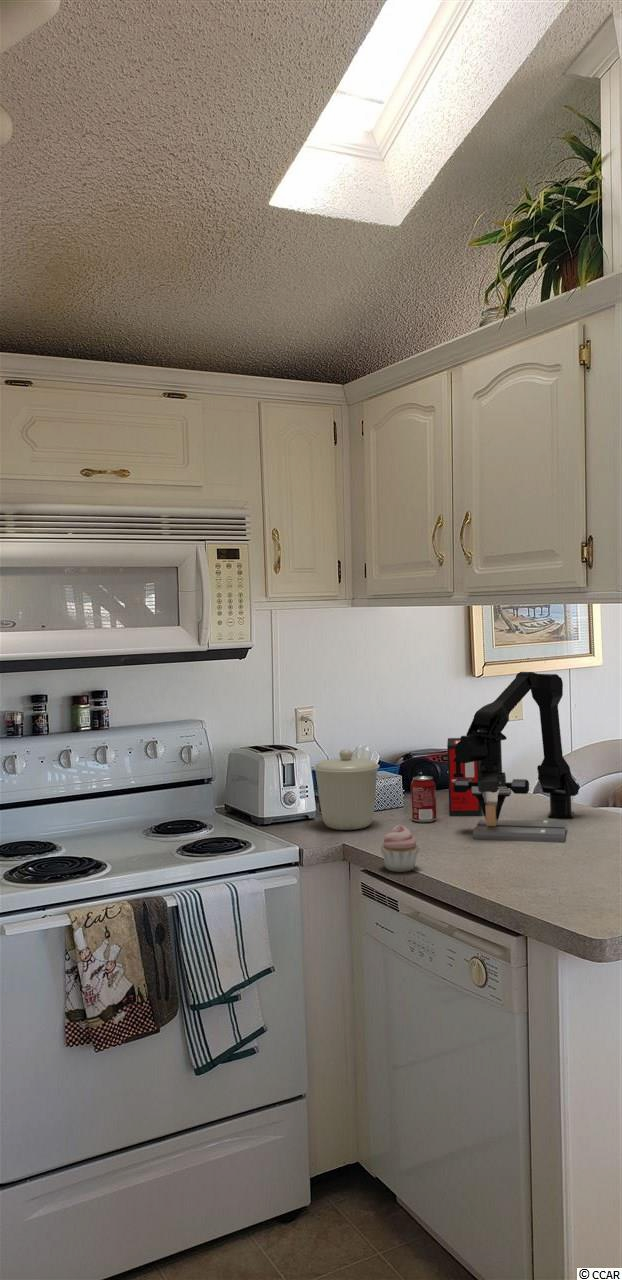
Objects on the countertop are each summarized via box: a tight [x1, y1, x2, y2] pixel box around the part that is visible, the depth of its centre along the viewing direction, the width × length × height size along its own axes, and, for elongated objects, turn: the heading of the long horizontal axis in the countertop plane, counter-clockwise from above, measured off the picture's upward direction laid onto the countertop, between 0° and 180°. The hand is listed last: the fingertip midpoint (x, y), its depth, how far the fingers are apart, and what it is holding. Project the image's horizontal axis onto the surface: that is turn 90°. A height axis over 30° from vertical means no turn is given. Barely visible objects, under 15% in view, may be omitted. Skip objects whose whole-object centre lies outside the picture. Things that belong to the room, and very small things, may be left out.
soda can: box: [410, 775, 437, 824], centre depth 258 cm, size 7×7×12 cm
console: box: [472, 818, 567, 843], centre depth 238 cm, size 14×22×2 cm, turn 72°
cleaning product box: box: [446, 737, 482, 817], centre depth 270 cm, size 16×9×20 cm, turn 171°
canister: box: [312, 748, 381, 831], centre depth 254 cm, size 18×18×21 cm
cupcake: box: [378, 823, 421, 873], centre depth 209 cm, size 9×9×10 cm
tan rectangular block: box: [485, 801, 499, 826], centre depth 240 cm, size 6×2×6 cm, turn 163°
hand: (492, 819), depth 240 cm, fingers closed on tan rectangular block, 2 cm apart
